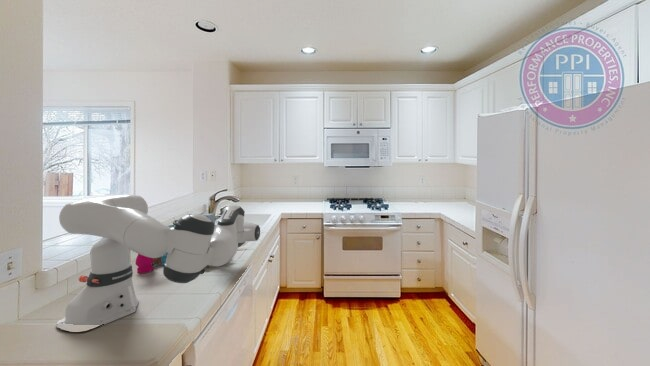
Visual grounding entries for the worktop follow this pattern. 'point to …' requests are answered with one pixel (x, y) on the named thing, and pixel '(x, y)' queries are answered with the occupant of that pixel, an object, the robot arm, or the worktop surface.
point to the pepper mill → (144, 264)
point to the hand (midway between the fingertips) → (206, 228)
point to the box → (210, 217)
